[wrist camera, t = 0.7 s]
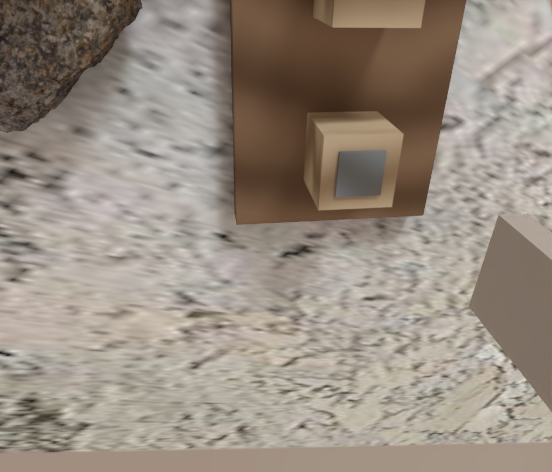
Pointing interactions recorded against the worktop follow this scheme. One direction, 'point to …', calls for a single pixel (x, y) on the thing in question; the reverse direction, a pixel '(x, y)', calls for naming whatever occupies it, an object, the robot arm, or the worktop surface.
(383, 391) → the worktop surface
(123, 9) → the rock
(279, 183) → the walnut board
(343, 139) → the marked block 1
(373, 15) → the plain beech block
